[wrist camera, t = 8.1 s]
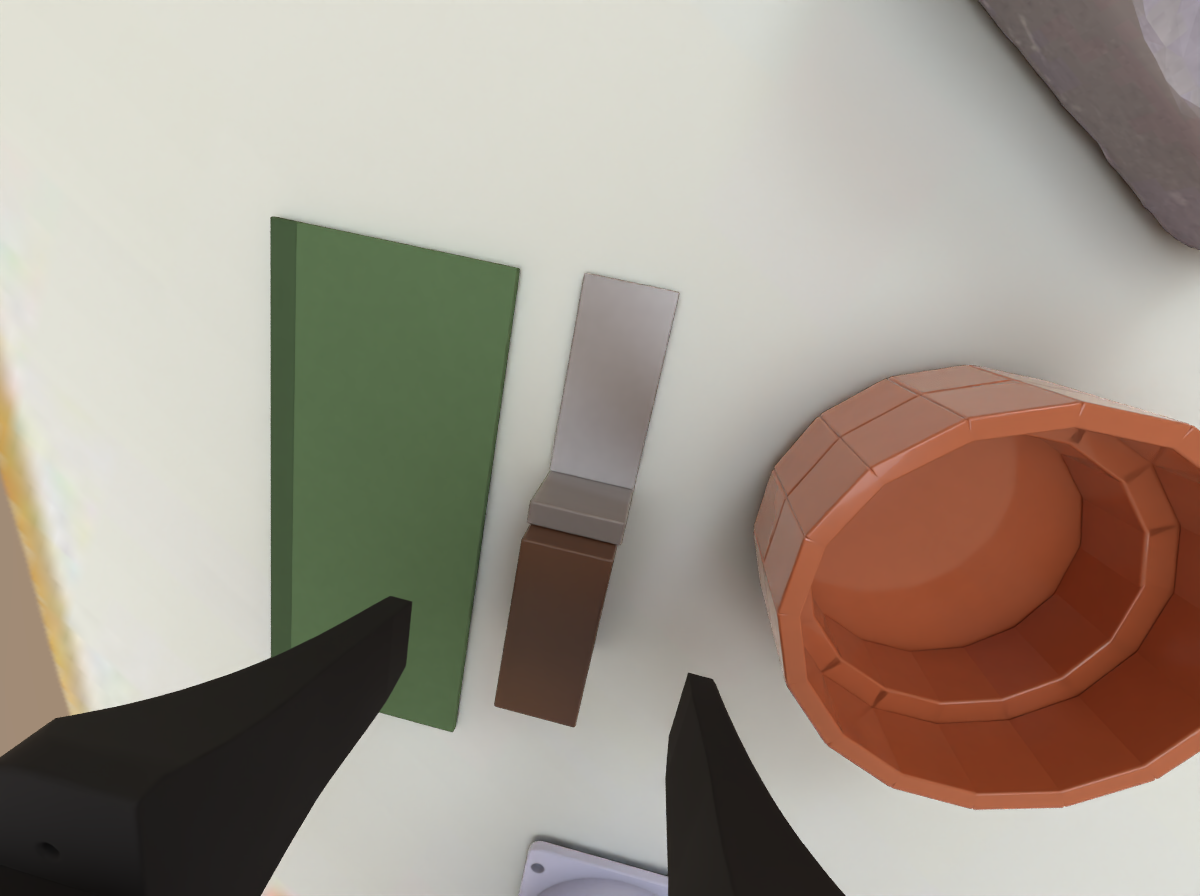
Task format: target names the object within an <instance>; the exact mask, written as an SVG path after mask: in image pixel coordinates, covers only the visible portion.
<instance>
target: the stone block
mask: <svg viewBox="0 0 1200 896" xmlns="http://www.w3.org/2000/svg"><path fill="white" fill-rule="evenodd" d="M978 1H979V2H980V3H981V5H982V6H983V7H984V8H985V10H986V11H987V12H988V14H989V15H990V16H991V17H992V19H993V20H994V21H995V23H996V24H997V25H998V27H999V28H1000V29H1001V31H1002V32H1003V33H1004V34H1005V35H1006V36H1007V37H1008V38H1009V39H1010V40H1011V42H1012V43H1013V44H1014V45H1015V46H1016V47H1017V48H1018V49H1019V50H1020V51H1021V53H1022V54H1023V55H1024V57H1025V58H1026V59H1027V61H1028V62H1029V63H1030V65H1031V66H1032V67H1033V69H1034V70H1035V71H1036V72H1037V74H1038V75H1039V76H1040V77H1041V78H1042V79H1043V81H1044V82H1045V83H1046V84H1047V85H1048V87H1049V88H1050V89H1051V90H1052V92H1053V93H1054V94H1055V96H1056V97H1057V99H1058V100H1059V101H1060V103H1061V104H1062V105H1063V106H1064V107H1065V108H1066V110H1067V111H1068V112H1069V113H1070V114H1071V115H1072V116H1073V117H1074V118H1075V119H1076V120H1077V121H1078V122H1079V123H1080V124H1081V126H1082V127H1083V128H1084V129H1085V130H1086V131H1087V132H1088V133H1089V134H1090V135H1091V137H1092V138H1093V139H1095V140H1096V141H1097V142H1098V144H1099V146H1100V147H1101V149H1102V151H1103V153H1104V155H1105V157H1106V160H1107V161H1108V162H1109V163H1110V164H1111V165H1112V166H1113V168H1114V169H1115V170H1116V171H1117V172H1118V173H1119V174H1120V175H1121V177H1122V178H1123V179H1124V180H1125V181H1126V183H1127V184H1128V185H1129V186H1130V188H1131V189H1132V190H1133V191H1134V193H1135V194H1136V195H1137V197H1138V198H1139V199H1140V201H1141V203H1142V205H1143V206H1144V207H1145V208H1146V209H1147V210H1149V211H1150V212H1151V213H1152V214H1153V215H1154V217H1155V218H1156V219H1157V220H1158V222H1159V223H1160V224H1161V225H1162V227H1163V228H1164V229H1165V230H1166V231H1167V232H1168V233H1169V234H1171V235H1172V236H1173V237H1174V238H1176V239H1177V240H1179V241H1180V242H1182V243H1184V244H1185V245H1187V246H1189V247H1193V248H1196V249H1198V250H1200V0H978Z"/></svg>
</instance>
